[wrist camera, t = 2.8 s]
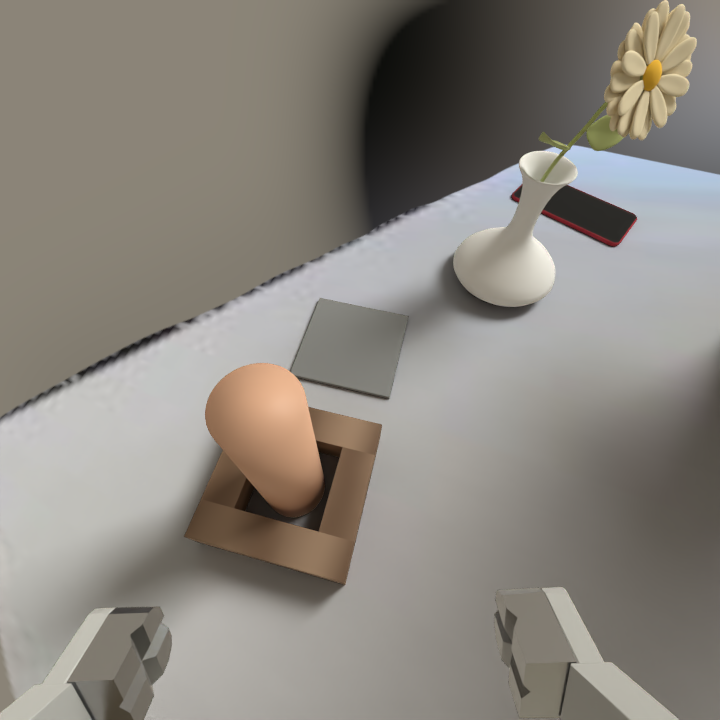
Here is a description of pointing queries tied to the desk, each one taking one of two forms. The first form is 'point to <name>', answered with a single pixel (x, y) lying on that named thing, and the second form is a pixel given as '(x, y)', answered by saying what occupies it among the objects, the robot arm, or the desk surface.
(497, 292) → the flower in vase
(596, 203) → the smartphone
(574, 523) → the desk surface
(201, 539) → the holder
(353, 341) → the mat
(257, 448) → the peg
